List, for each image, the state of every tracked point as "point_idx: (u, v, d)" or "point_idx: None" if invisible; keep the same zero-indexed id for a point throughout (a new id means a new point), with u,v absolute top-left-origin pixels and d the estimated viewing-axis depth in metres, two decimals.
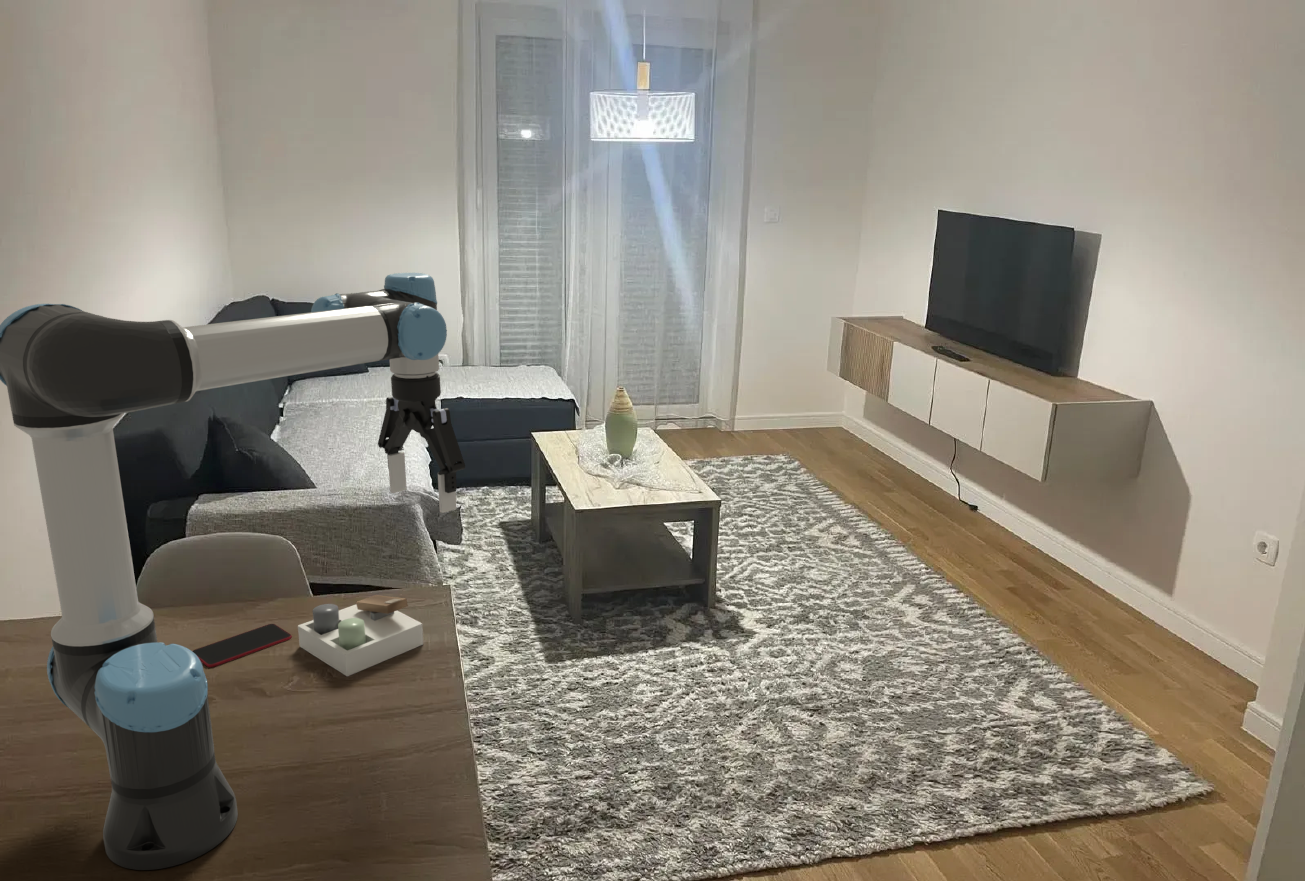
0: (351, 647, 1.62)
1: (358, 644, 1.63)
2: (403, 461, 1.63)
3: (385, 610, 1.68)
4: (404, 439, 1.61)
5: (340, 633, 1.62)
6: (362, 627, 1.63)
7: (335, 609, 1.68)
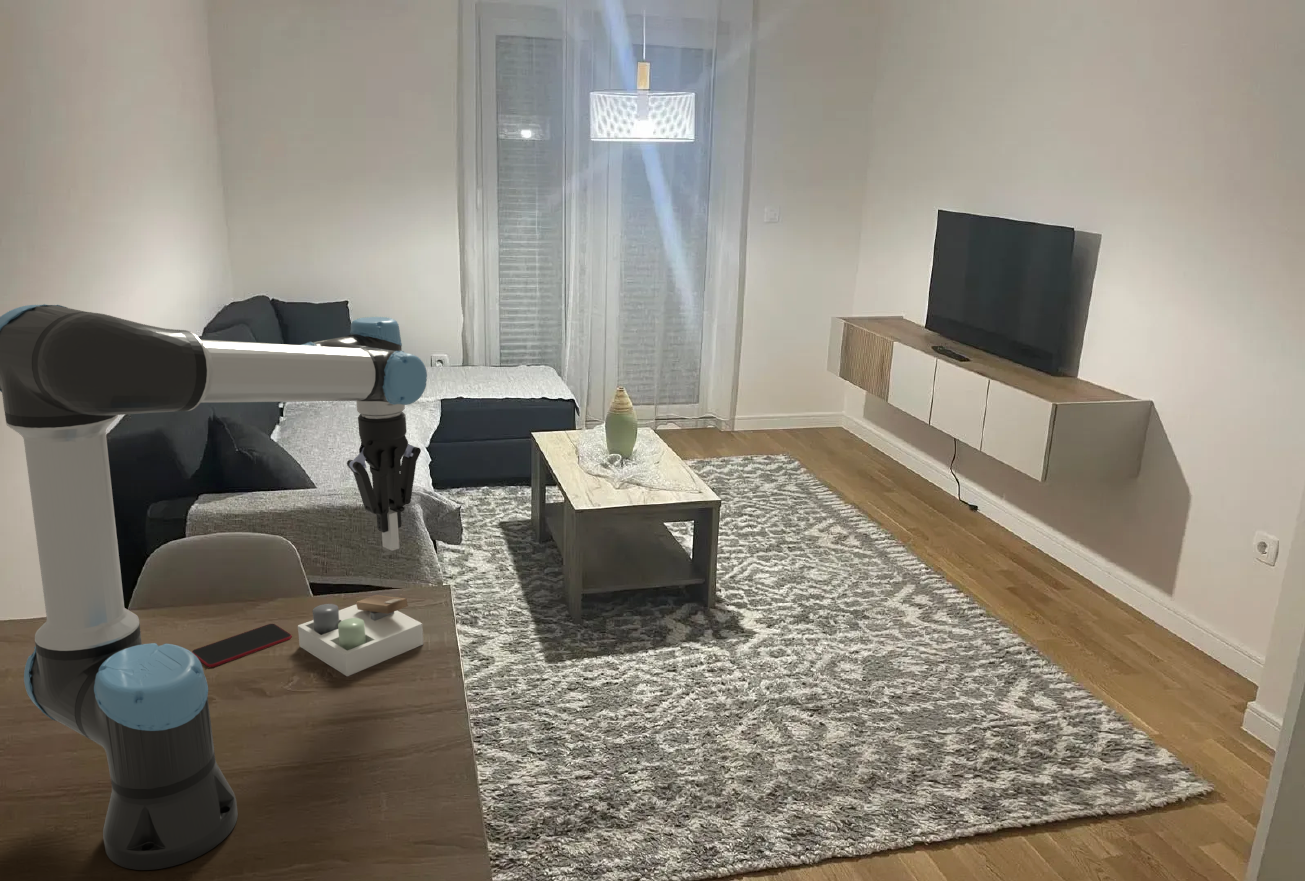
0: (351, 647, 1.62)
1: (358, 644, 1.63)
2: None
3: (385, 610, 1.68)
4: (393, 490, 1.64)
5: (340, 633, 1.62)
6: (362, 627, 1.63)
7: (335, 609, 1.68)
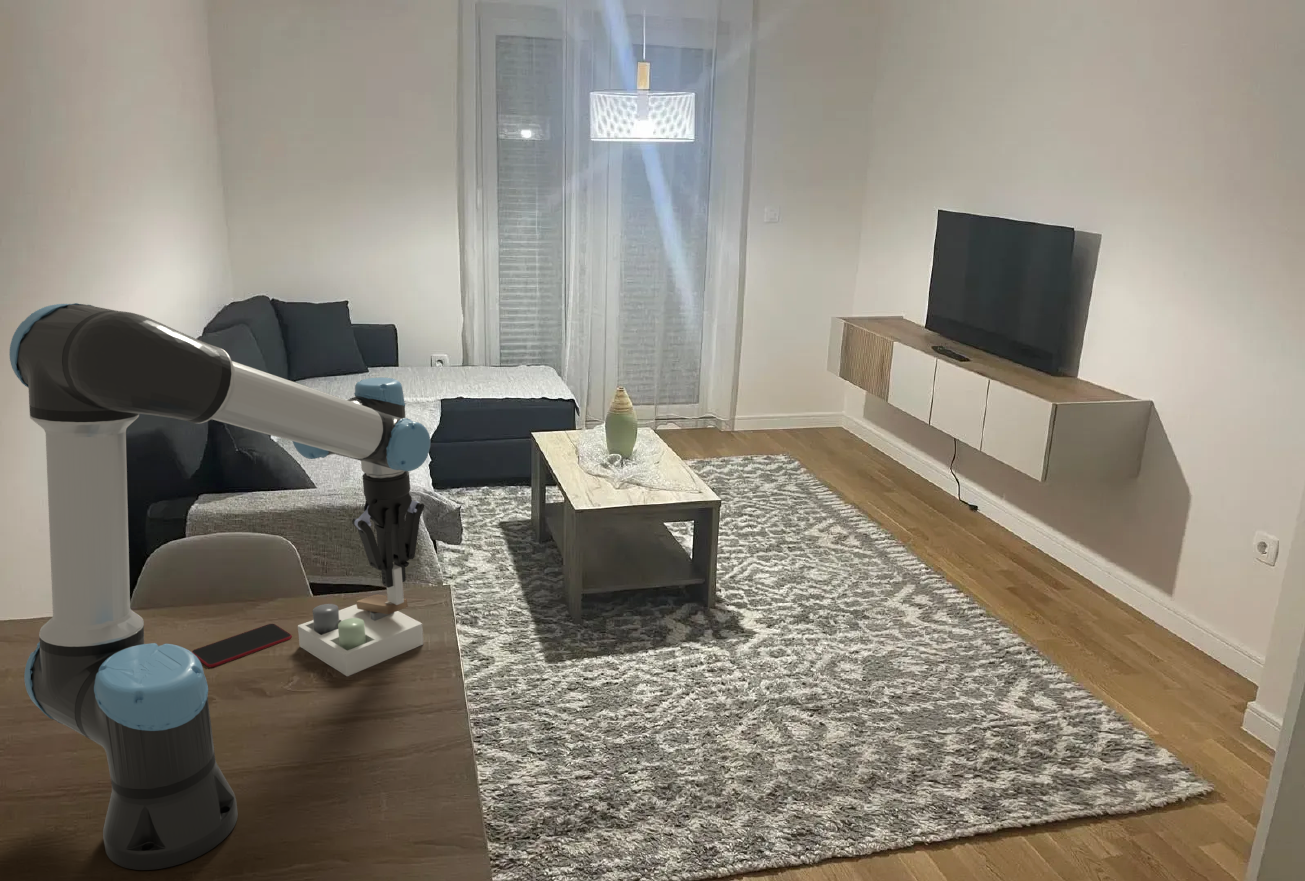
0: (351, 647, 1.62)
1: (358, 644, 1.63)
2: None
3: (385, 611, 1.68)
4: (397, 546, 1.66)
5: (340, 633, 1.62)
6: (362, 627, 1.63)
7: (335, 609, 1.68)
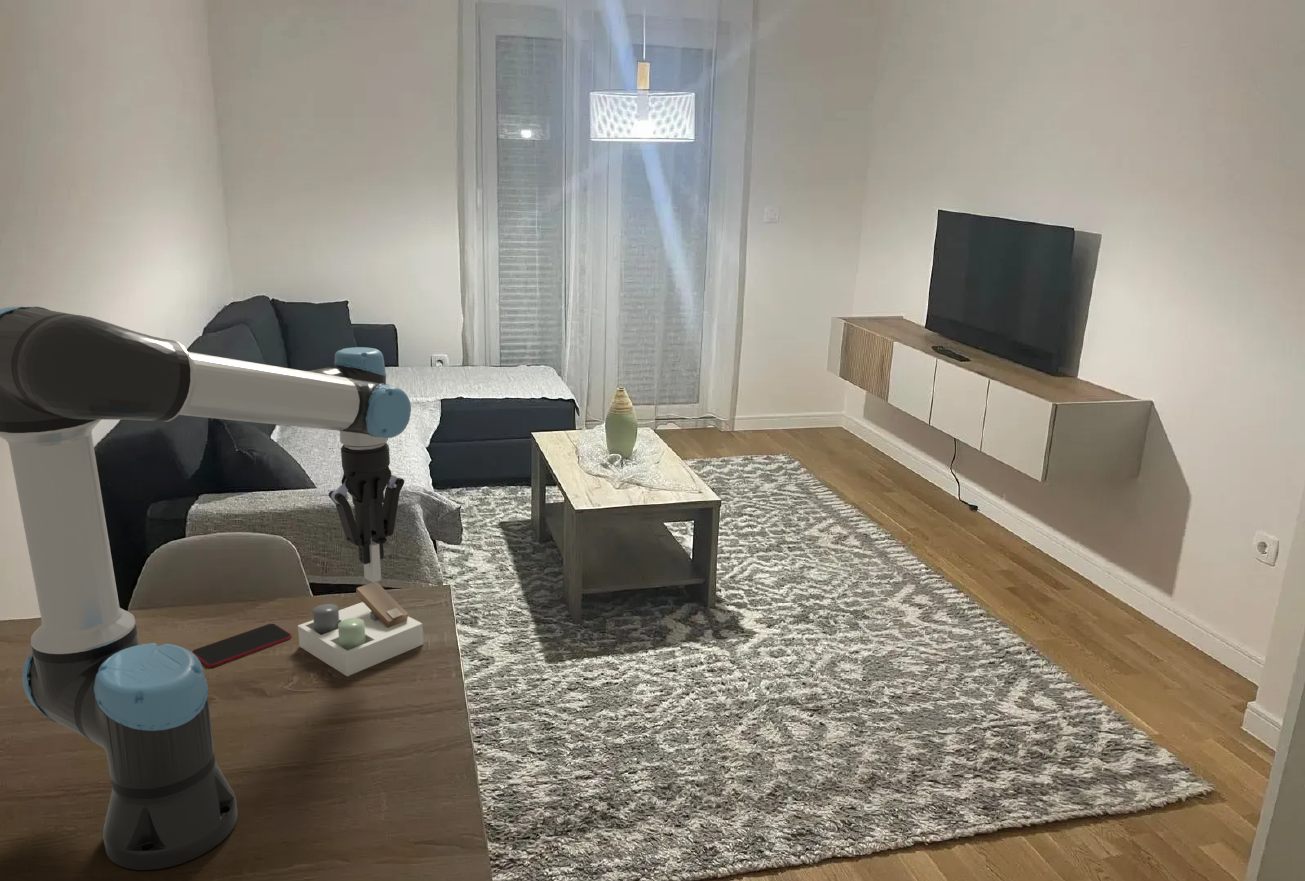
0: (351, 647, 1.62)
1: (358, 644, 1.63)
2: None
3: (385, 623, 1.69)
4: (375, 521, 1.62)
5: (340, 633, 1.62)
6: (362, 627, 1.63)
7: (335, 609, 1.68)
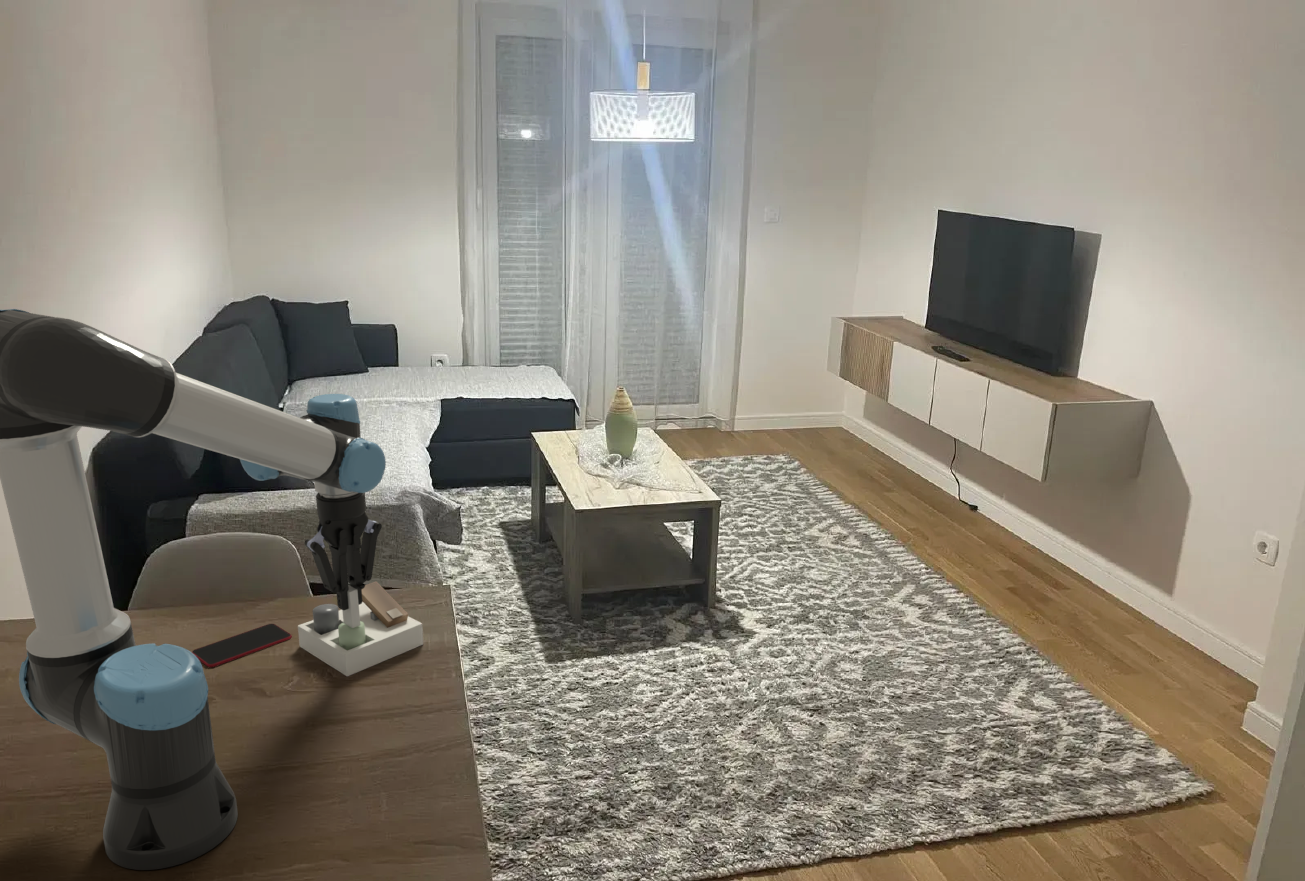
0: None
1: None
2: None
3: (385, 623, 1.69)
4: (353, 567, 1.61)
5: (340, 635, 1.62)
6: (362, 629, 1.63)
7: (335, 609, 1.68)
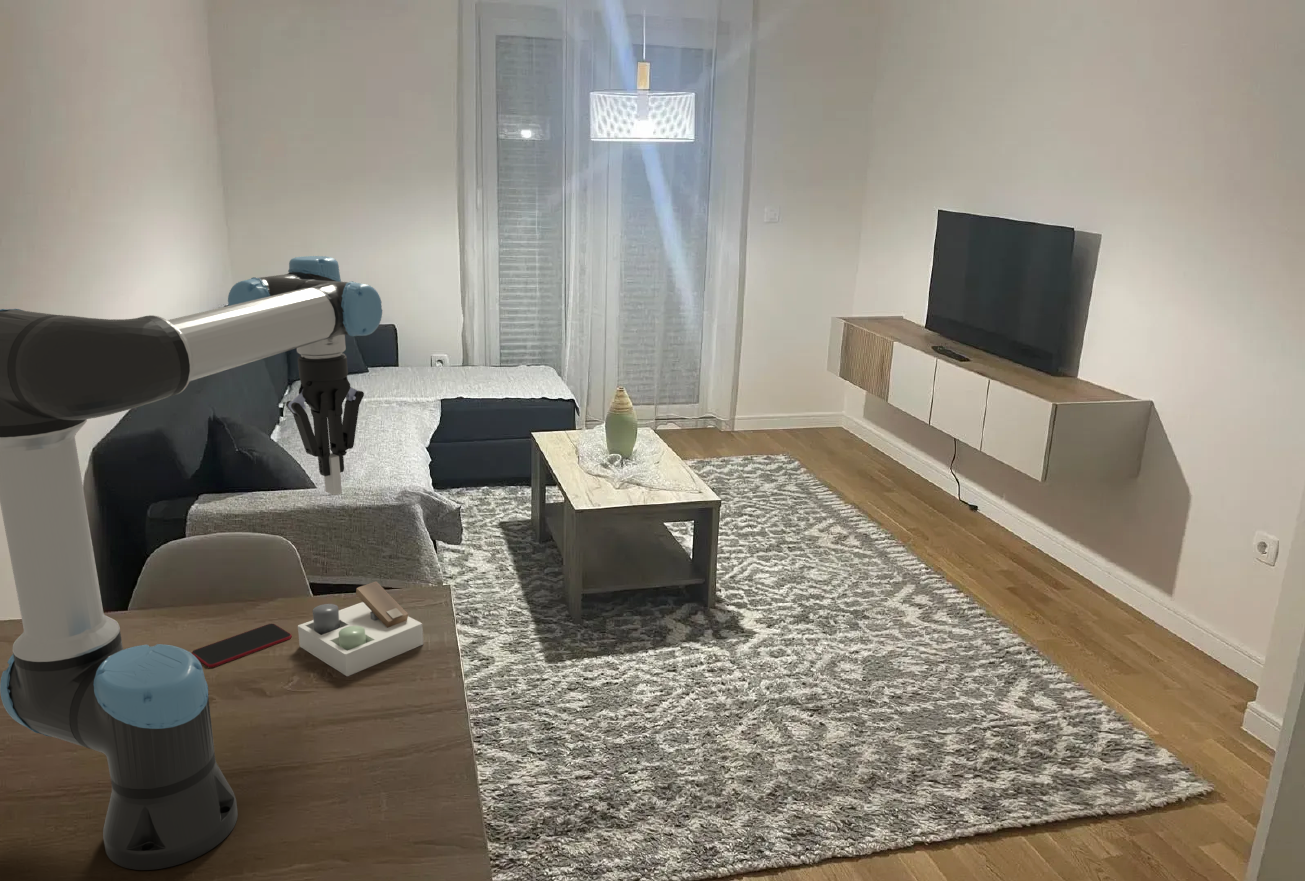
0: None
1: None
2: None
3: (385, 623, 1.69)
4: (334, 433, 1.62)
5: (341, 641, 1.62)
6: (363, 635, 1.63)
7: (335, 609, 1.68)
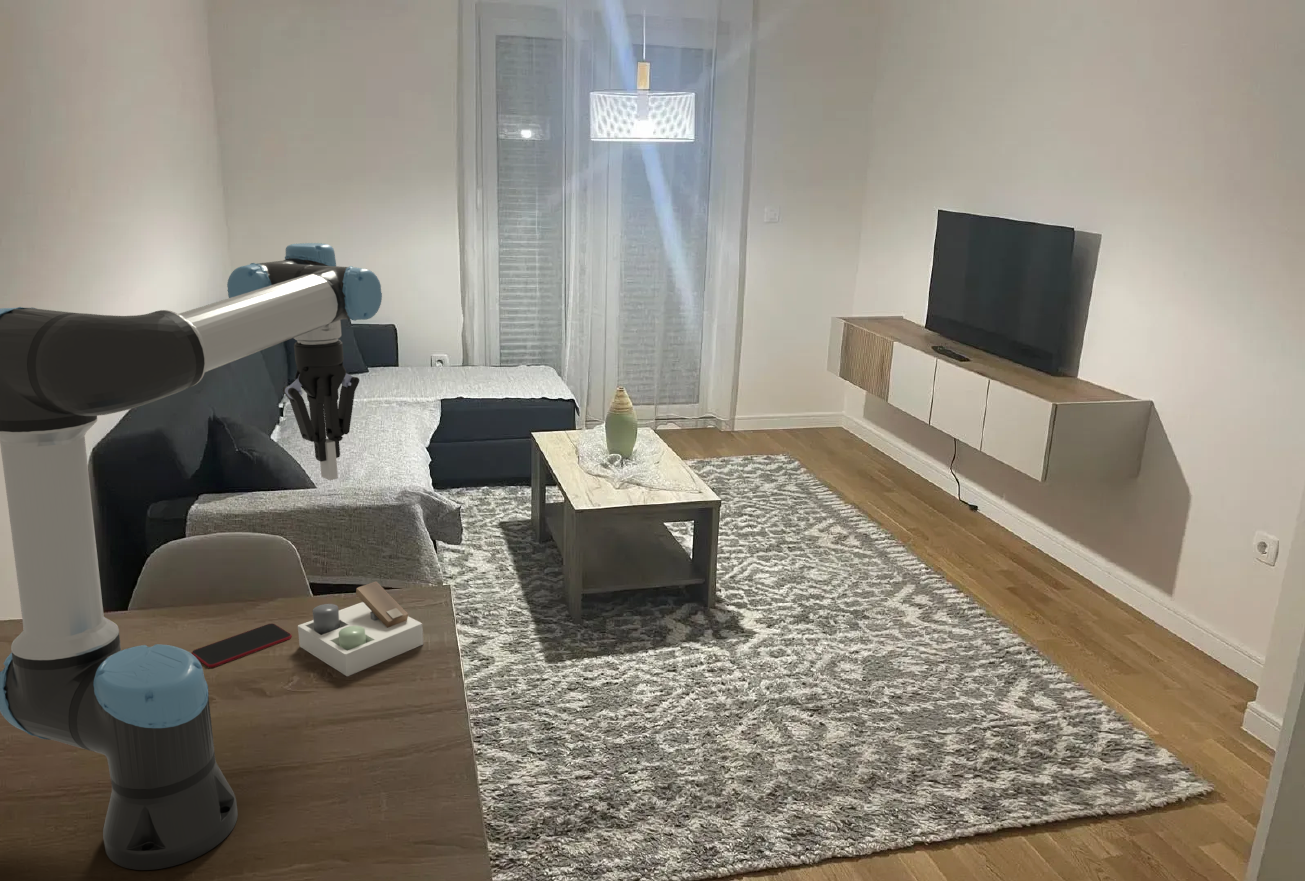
0: None
1: None
2: None
3: (385, 623, 1.69)
4: (330, 419, 1.63)
5: (341, 641, 1.62)
6: (363, 635, 1.63)
7: (335, 609, 1.68)
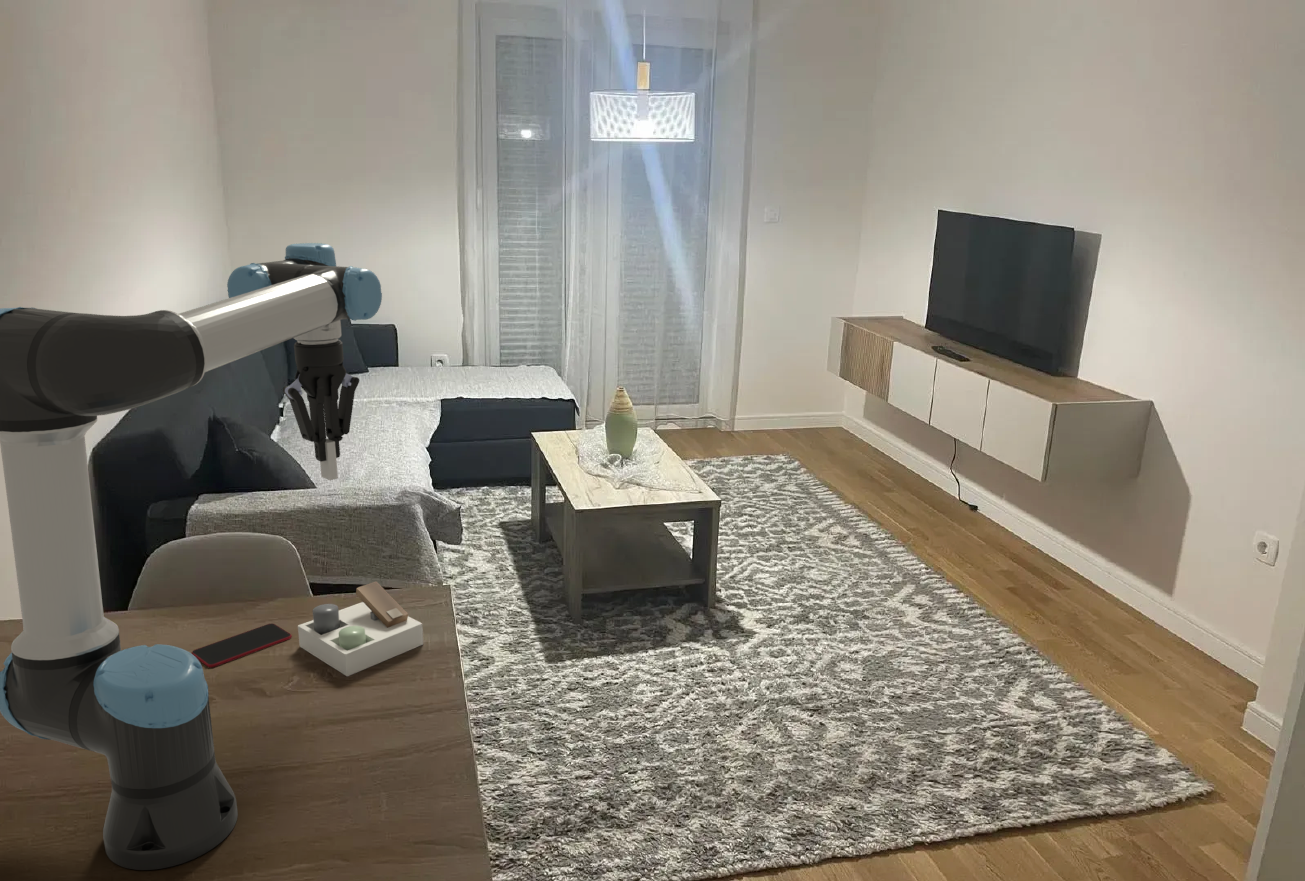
0: None
1: None
2: None
3: (385, 623, 1.69)
4: (330, 419, 1.63)
5: (341, 641, 1.62)
6: (363, 635, 1.63)
7: (335, 609, 1.68)
